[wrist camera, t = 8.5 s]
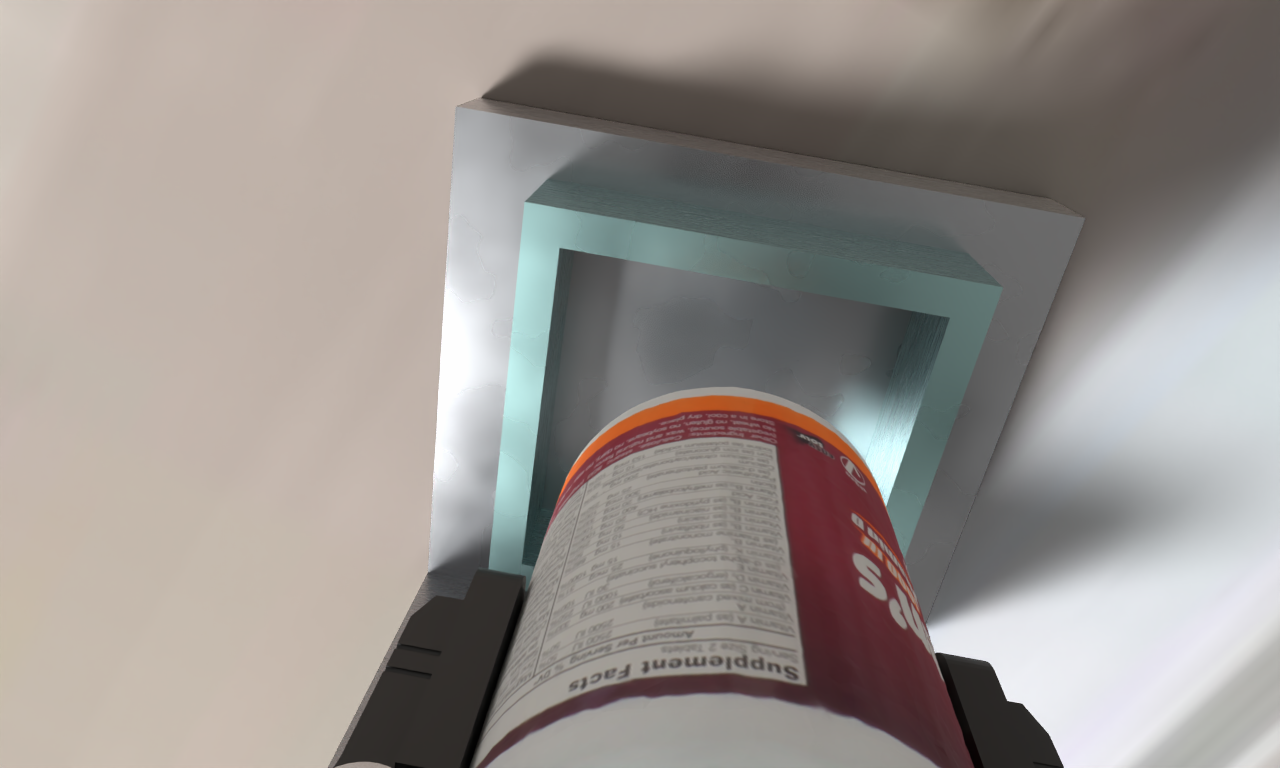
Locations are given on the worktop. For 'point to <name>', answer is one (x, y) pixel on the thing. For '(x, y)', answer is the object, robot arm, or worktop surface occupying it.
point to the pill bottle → (720, 606)
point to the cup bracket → (717, 318)
